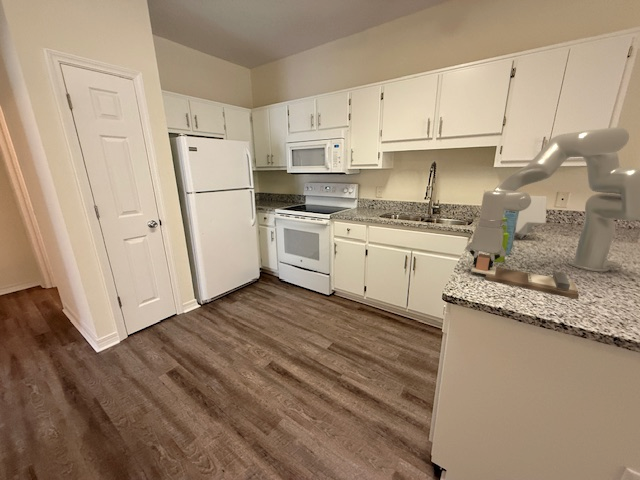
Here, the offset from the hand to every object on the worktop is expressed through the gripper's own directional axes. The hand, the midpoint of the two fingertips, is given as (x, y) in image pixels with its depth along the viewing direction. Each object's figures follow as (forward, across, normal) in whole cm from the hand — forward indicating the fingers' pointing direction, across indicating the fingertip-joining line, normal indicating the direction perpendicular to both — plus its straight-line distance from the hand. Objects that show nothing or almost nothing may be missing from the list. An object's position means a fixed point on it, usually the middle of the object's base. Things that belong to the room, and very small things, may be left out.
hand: (482, 267), depth 106 cm
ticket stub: (+1, -1, 0) cm, 1 cm away
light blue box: (+3, -7, -44) cm, 45 cm away
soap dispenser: (+3, -4, -23) cm, 23 cm away
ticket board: (+2, -15, 0) cm, 15 cm away
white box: (+3, -11, -80) cm, 81 cm away
